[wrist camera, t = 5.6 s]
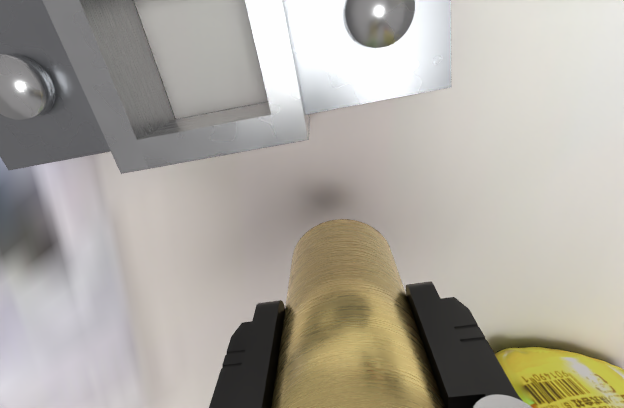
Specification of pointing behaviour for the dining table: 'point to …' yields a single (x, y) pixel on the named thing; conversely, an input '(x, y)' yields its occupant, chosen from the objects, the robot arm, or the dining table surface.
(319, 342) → the pin
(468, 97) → the dining table surface
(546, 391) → the bottle
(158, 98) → the bolt keeper plate
